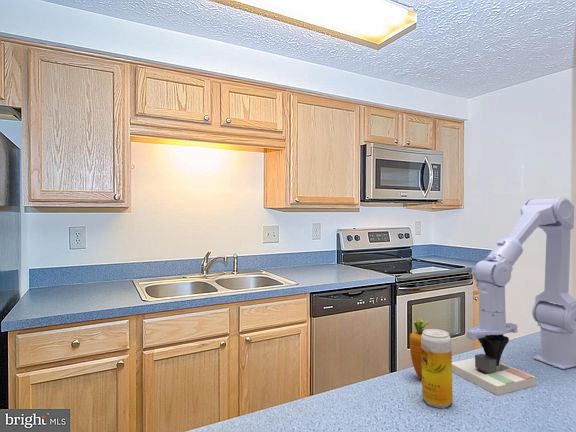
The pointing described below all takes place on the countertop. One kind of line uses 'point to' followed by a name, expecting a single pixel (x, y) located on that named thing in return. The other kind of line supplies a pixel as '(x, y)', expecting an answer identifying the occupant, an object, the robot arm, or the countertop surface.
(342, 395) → the countertop surface
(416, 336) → the carrot
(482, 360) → the switch handle
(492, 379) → the switch board
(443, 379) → the beer can
